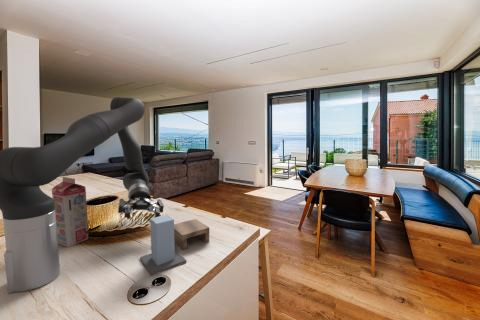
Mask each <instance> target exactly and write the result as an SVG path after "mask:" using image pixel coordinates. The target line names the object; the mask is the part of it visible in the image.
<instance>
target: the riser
mask: <svg viewBox="0 0 480 320" xmlns="http://www.w3.org/2000/svg"><path fill="white" fill-rule="evenodd" d="M192 237H193V238H194V237H198V238H199V239H200V240H201V241H203V242H204V243H208V242H210V227H209V226H208V225H206V224H205V223H203V222H202V221H200V220H199V219H197V218H194V219H190V220H186V221H182V222H178V223H174V245H176V246H178V248H179V249H180V250H181V251H185V250H187V249H188V248H187V247H188V243H187V242H188V239H189V238H192Z"/></svg>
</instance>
